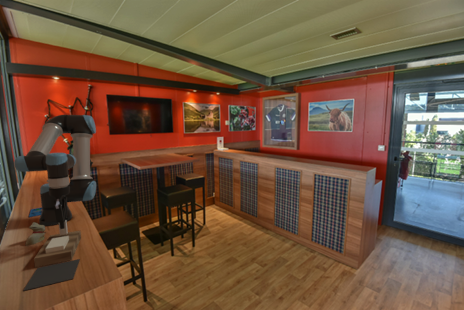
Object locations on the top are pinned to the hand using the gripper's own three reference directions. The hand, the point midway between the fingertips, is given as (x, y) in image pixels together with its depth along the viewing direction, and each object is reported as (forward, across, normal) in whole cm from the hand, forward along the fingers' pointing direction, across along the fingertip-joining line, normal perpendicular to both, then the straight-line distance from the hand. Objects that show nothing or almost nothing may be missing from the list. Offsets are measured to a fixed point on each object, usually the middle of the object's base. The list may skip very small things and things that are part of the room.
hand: (63, 234), depth 102 cm
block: (+1, +10, 0) cm, 10 cm away
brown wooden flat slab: (+5, +7, 0) cm, 8 cm away
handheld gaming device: (+6, -53, -25) cm, 59 cm away
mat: (+5, +24, +2) cm, 25 cm away
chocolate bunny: (+5, -8, -13) cm, 16 cm away
